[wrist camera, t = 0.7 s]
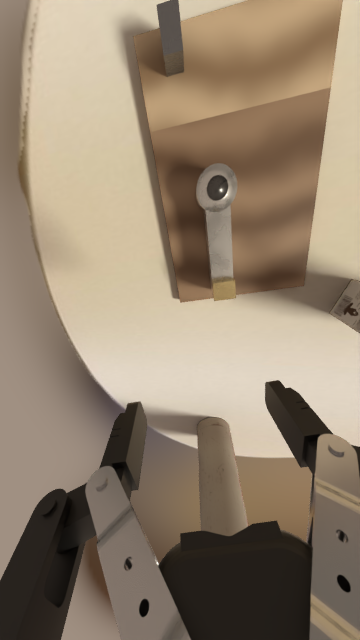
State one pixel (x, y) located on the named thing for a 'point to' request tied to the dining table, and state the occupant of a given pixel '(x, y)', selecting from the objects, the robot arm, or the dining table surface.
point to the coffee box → (349, 306)
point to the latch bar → (218, 226)
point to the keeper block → (171, 37)
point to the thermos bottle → (219, 480)
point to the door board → (243, 134)
